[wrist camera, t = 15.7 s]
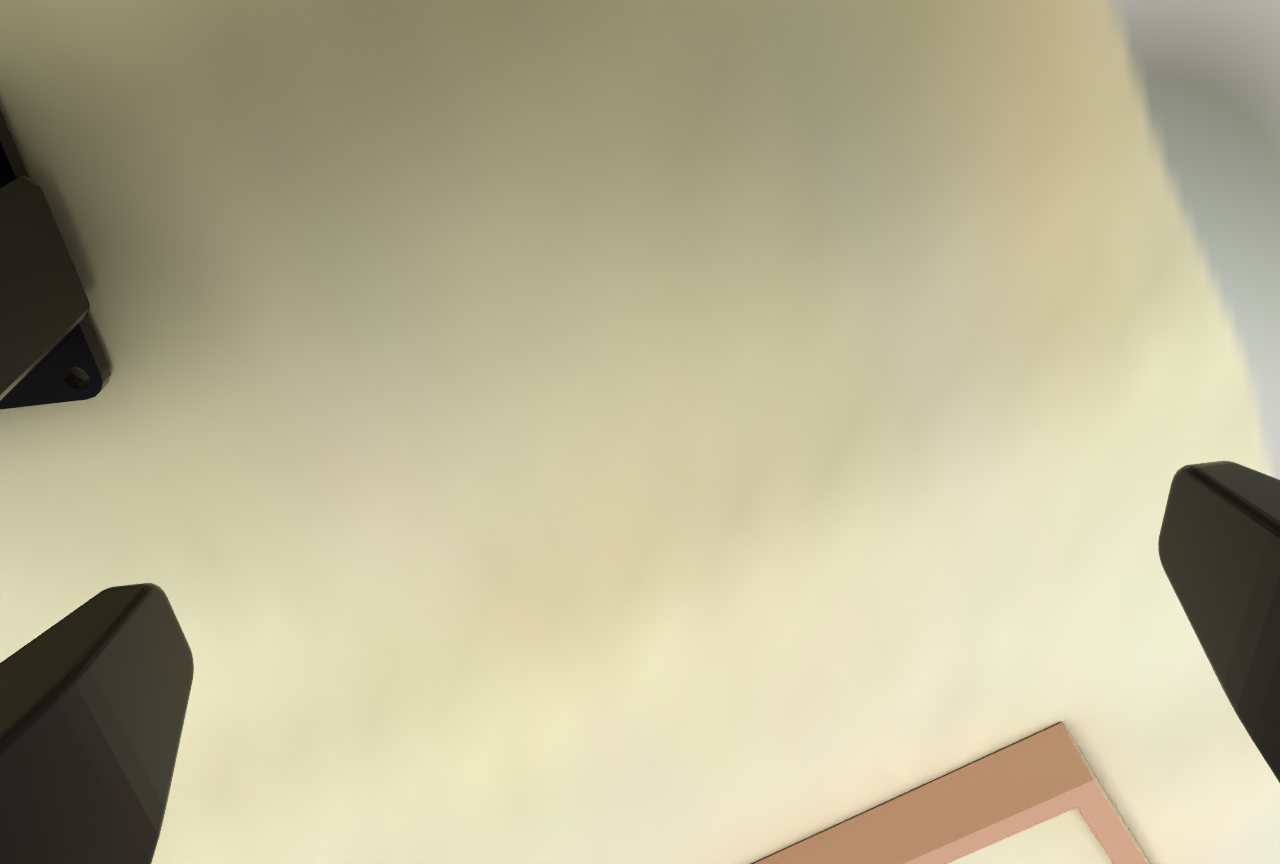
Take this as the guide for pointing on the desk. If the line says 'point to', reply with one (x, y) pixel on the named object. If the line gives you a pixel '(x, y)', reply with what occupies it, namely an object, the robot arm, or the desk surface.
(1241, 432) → the desk surface
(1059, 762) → the pink square frame
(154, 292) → the desk surface
